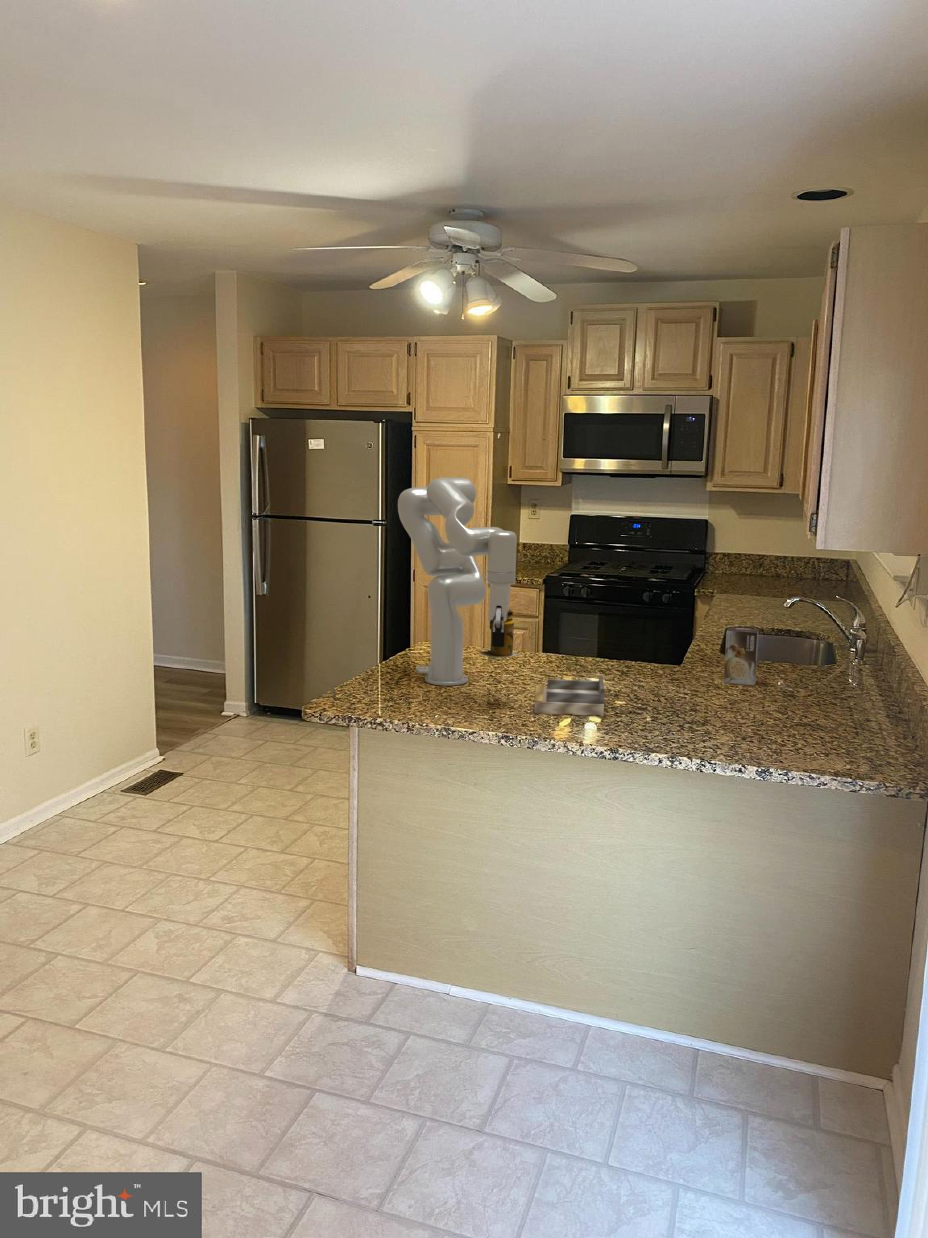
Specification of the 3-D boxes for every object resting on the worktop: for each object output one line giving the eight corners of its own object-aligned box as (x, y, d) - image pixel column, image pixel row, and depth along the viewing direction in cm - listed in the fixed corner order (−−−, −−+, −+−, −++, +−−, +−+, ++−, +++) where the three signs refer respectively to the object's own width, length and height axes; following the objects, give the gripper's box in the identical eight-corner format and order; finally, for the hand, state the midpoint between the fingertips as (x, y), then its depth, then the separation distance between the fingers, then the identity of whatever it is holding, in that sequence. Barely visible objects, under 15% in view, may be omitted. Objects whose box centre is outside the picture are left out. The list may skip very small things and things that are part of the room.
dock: (534, 713, 244) (535, 687, 242) (536, 696, 259) (537, 672, 258) (603, 716, 242) (604, 690, 241) (601, 699, 258) (602, 675, 256)
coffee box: (756, 681, 280) (760, 628, 277) (754, 686, 274) (758, 632, 271) (725, 677, 283) (728, 626, 280) (722, 682, 277) (726, 630, 274)
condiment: (519, 655, 249) (520, 611, 247) (493, 659, 245) (494, 614, 242) (503, 649, 255) (504, 606, 253) (477, 653, 251) (479, 609, 248)
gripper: (489, 571, 255) (487, 635, 259) (484, 582, 238) (482, 650, 242) (517, 573, 254) (514, 637, 258) (513, 583, 237) (510, 652, 241)
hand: (499, 642), depth 250 cm, fingers closed on condiment, 6 cm apart
